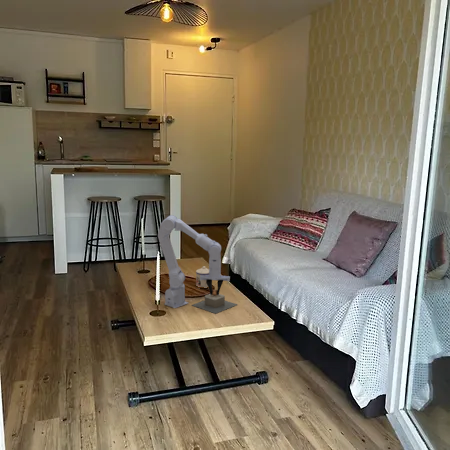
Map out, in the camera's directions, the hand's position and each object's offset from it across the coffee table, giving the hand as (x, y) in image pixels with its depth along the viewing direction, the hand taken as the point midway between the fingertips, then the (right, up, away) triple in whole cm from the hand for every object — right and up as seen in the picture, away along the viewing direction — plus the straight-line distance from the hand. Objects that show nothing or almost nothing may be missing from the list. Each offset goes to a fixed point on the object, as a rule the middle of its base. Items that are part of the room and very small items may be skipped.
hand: (214, 294), depth 224 cm
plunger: (0, -4, +1) cm, 4 cm away
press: (0, -6, +1) cm, 6 cm away
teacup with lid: (-6, -1, +29) cm, 29 cm away
